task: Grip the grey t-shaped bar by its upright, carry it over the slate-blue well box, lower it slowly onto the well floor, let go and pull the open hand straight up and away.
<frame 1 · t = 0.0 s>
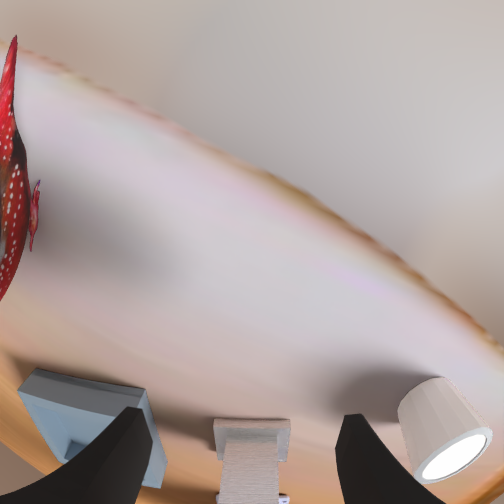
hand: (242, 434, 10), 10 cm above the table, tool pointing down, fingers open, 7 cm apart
slate well: (100, 420, 24), on the table
decorative bird figurine: (43, 185, 18), on the table
grey t-shaped bar: (252, 437, 24), on the table
off-white tapered cylinder: (425, 400, 22), on the table
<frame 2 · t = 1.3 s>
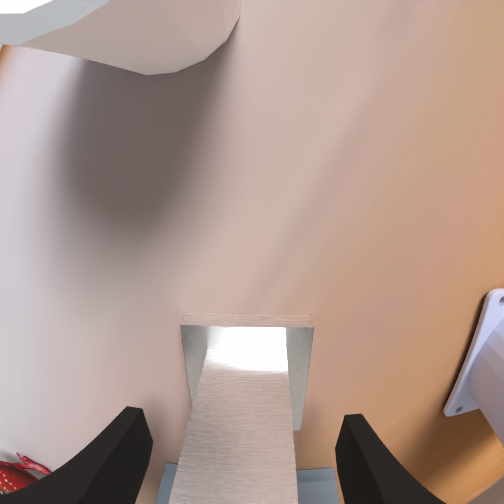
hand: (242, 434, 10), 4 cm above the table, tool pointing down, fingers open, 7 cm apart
decorative bird figurine: (22, 451, 19), on the table
grey t-shaped bar: (248, 371, 14), on the table
off-white tapered cylinder: (167, 11, 9), on the table
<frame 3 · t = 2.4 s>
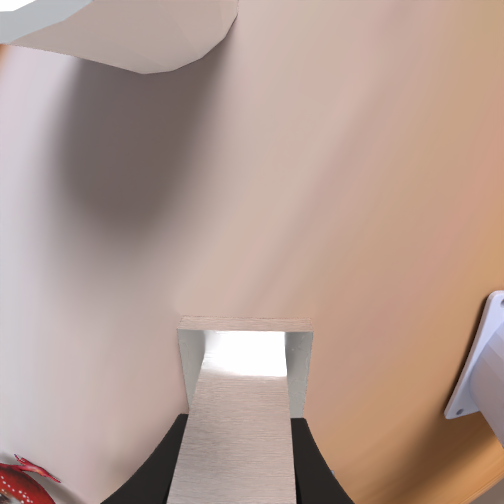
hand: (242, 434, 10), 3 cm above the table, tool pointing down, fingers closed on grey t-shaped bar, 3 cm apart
decorative bird figurine: (20, 453, 18), on the table
grey t-shaped bar: (246, 376, 13), on the table, touching gripper
off-white tapered cylinder: (164, 9, 9), on the table
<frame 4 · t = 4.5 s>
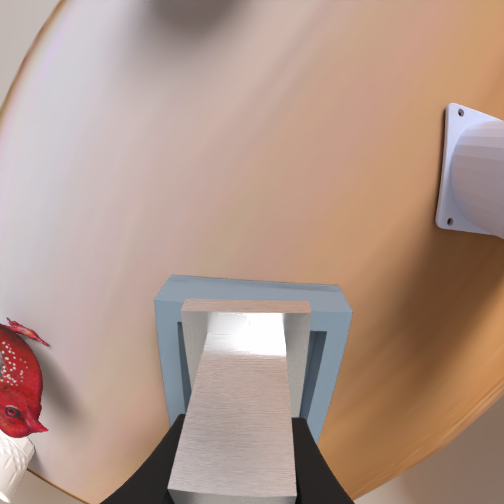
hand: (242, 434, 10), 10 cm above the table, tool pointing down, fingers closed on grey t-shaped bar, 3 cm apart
slate well: (250, 356, 21), on the table
decorative bird figurine: (13, 317, 22), on the table
white cup: (16, 435, 29), on the table
grey t-shaped bar: (247, 358, 14), point 6 cm above the table, touching gripper
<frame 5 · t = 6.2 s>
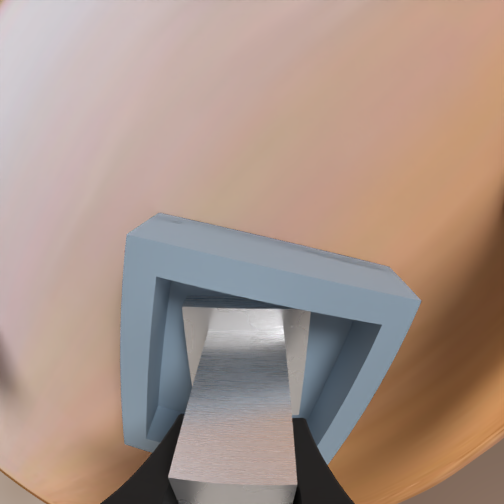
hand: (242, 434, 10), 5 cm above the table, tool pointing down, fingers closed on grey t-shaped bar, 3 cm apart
slate well: (248, 350, 15), on the table
grey t-shaped bar: (247, 355, 14), point 1 cm above the table, touching gripper, slate well
when the fingers open (5 cm above the table, at t = 6.8 s): grey t-shaped bar stays where it is, resting on slate well.
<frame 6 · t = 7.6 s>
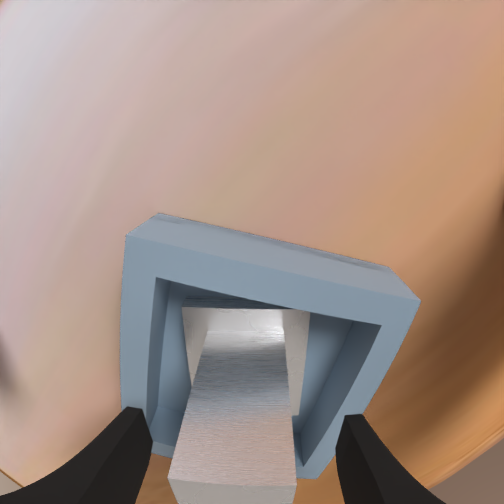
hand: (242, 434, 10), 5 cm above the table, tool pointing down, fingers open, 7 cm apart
slate well: (248, 350, 15), on the table
grey t-shaped bar: (247, 356, 14), point 1 cm above the table, touching slate well
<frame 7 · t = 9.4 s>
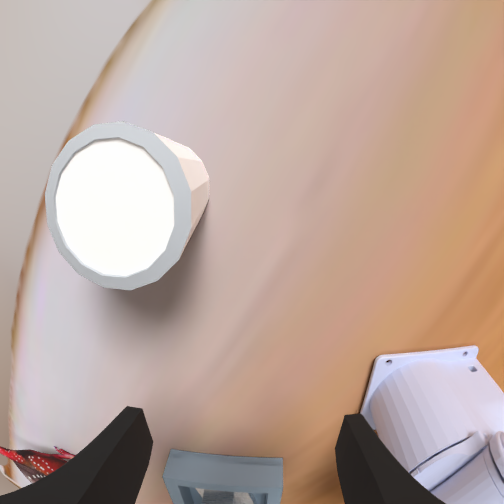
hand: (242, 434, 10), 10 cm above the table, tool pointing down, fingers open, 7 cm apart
slate well: (228, 483, 27), on the table
decorative bird figurine: (59, 445, 28), on the table
grey t-shaped bar: (226, 489, 25), point 1 cm above the table, touching slate well
off-white tapered cylinder: (164, 188, 18), on the table
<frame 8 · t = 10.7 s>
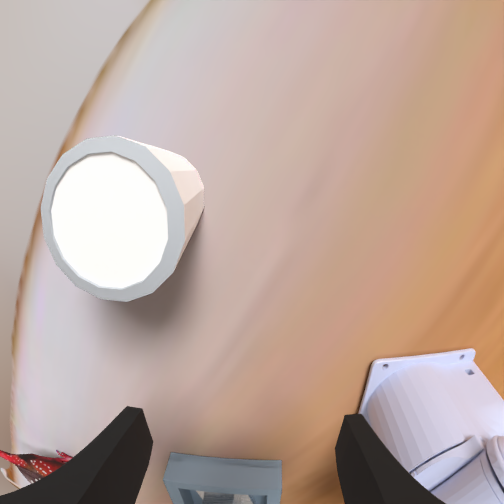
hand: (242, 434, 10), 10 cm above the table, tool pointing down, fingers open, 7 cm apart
slate well: (228, 485, 27), on the table
decorative bird figurine: (60, 449, 28), on the table
grey t-shaped bar: (226, 491, 26), point 1 cm above the table, touching slate well
off-white tapered cylinder: (159, 196, 18), on the table
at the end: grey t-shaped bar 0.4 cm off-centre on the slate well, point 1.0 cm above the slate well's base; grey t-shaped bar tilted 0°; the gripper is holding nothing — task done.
